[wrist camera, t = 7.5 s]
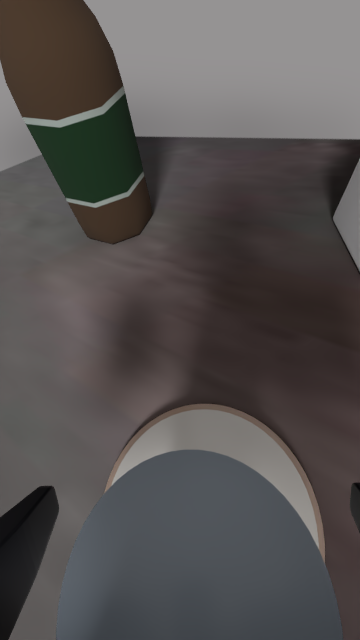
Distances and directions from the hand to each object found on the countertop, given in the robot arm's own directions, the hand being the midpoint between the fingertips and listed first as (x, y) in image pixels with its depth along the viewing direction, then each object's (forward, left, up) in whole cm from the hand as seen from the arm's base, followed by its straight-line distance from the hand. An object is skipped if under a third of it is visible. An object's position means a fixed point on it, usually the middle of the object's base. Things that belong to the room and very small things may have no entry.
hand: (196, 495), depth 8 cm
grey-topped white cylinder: (-1, 0, -8) cm, 8 cm away
